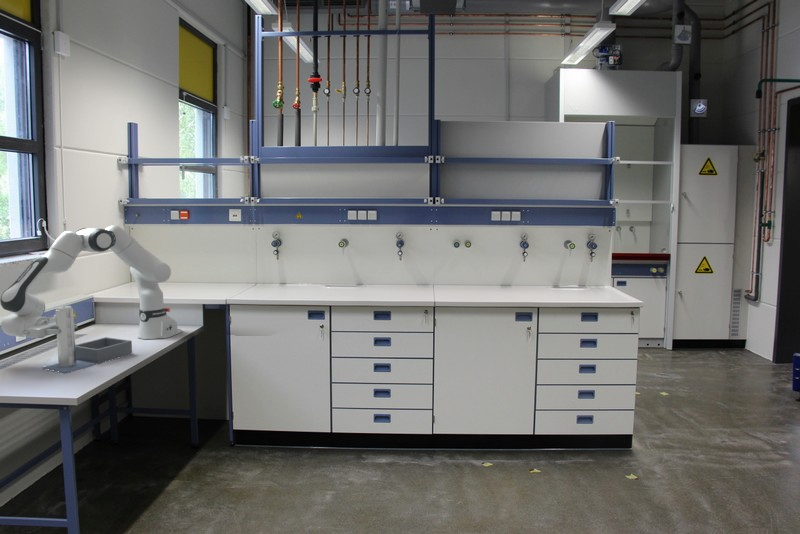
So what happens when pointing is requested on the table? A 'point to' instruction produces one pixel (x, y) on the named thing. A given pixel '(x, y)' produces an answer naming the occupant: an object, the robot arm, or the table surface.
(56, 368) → the mat
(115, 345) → the gray open bin
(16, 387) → the table surface
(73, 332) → the light grey tall bar
